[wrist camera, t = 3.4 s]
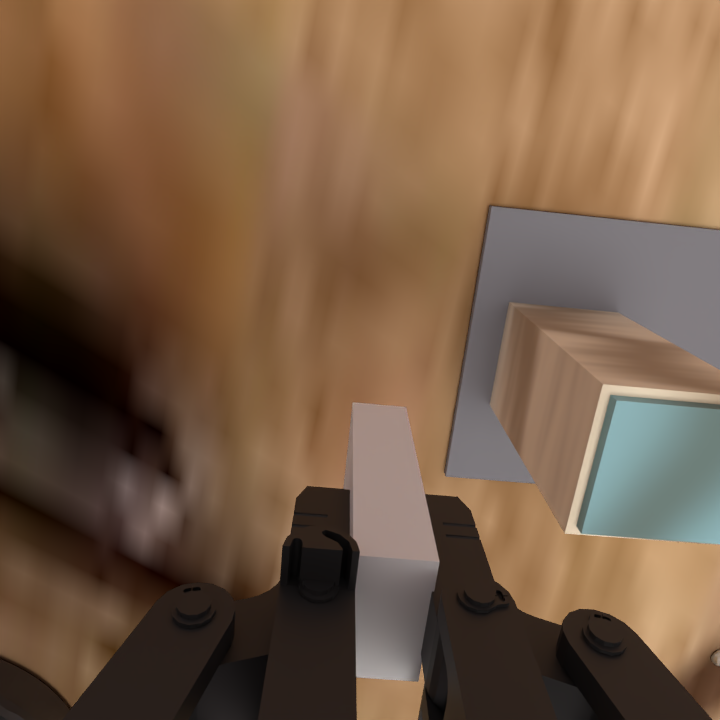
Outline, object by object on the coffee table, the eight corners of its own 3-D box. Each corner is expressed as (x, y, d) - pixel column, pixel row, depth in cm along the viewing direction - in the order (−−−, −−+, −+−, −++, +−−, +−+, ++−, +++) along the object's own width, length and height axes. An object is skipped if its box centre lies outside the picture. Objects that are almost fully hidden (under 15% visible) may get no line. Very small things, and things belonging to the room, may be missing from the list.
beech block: (489, 404, 28) (569, 541, 18) (509, 302, 26) (608, 389, 16) (592, 413, 28) (727, 552, 18) (618, 312, 26) (781, 404, 16)
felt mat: (444, 472, 29) (445, 476, 29) (489, 205, 25) (491, 206, 25) (860, 505, 30) (867, 509, 30) (971, 256, 26) (979, 257, 26)
